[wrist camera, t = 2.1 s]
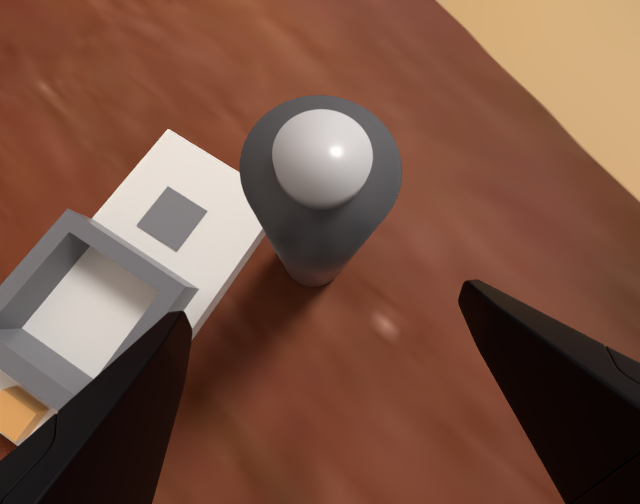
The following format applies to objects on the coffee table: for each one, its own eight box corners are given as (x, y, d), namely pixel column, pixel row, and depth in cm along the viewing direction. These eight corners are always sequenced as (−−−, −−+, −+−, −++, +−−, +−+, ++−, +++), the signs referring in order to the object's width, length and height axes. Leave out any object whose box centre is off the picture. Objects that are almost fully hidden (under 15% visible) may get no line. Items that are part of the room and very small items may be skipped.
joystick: (346, 283, 20) (424, 230, 7) (285, 290, 20) (237, 247, 6) (339, 225, 21) (395, 72, 7) (281, 231, 20) (229, 82, 7)
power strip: (98, 475, 17) (44, 517, 14) (-25, 384, 18) (-105, 403, 14) (284, 207, 21) (280, 186, 17) (177, 141, 21) (152, 109, 18)
